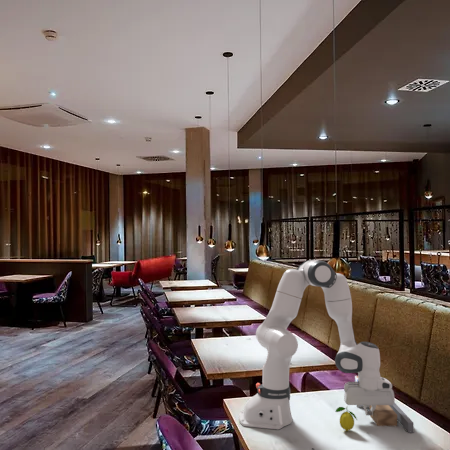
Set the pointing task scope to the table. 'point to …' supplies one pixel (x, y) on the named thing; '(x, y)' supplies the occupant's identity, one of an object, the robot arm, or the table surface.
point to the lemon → (346, 419)
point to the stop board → (403, 418)
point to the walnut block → (384, 416)
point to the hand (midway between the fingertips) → (369, 414)
